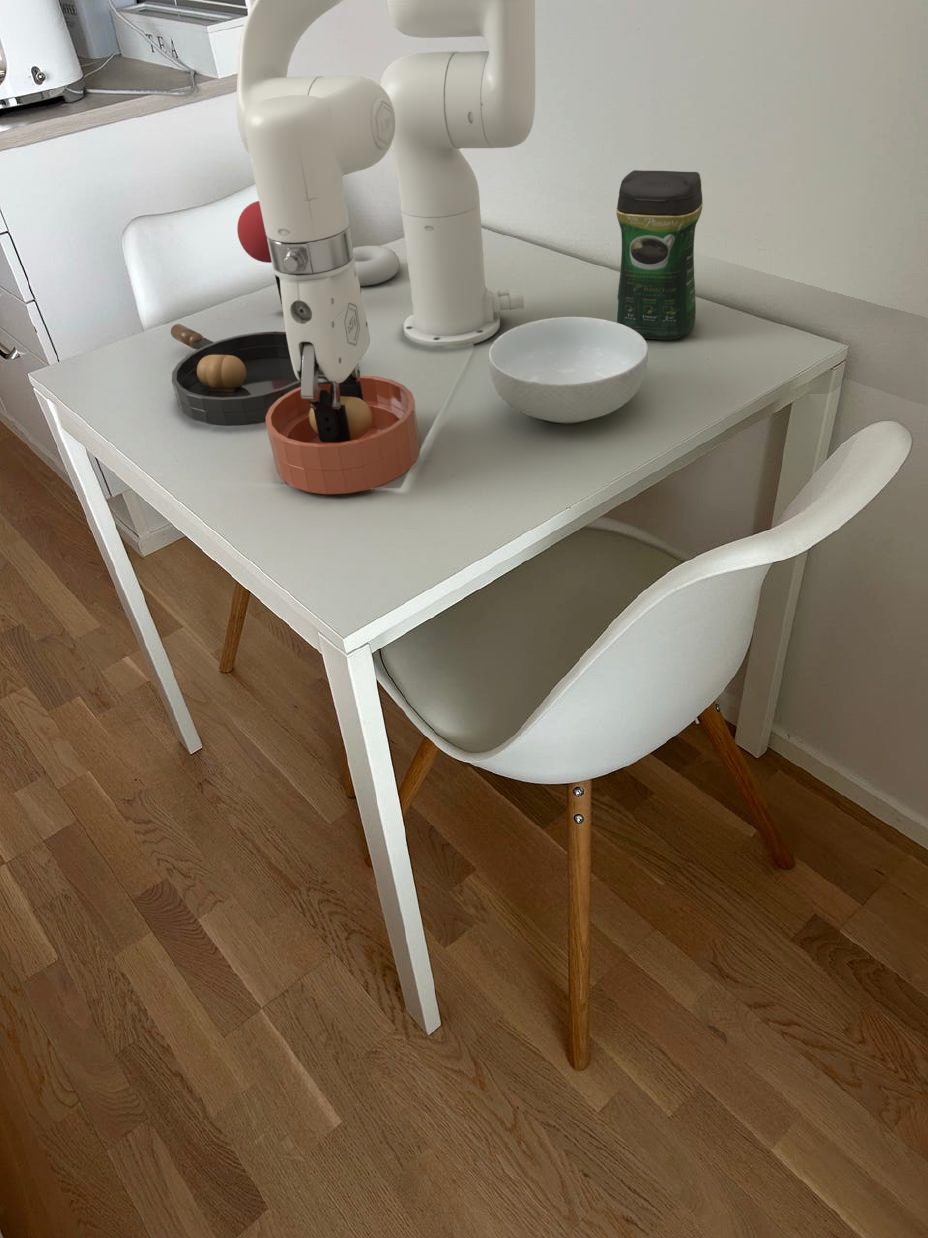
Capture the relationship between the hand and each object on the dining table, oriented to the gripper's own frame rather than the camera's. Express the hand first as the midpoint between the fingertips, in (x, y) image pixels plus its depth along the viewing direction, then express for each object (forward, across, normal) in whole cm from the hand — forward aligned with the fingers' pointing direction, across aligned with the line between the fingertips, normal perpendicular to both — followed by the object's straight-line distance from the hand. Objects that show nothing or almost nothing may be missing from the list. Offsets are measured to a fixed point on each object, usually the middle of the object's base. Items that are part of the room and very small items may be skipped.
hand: (343, 427), depth 100 cm
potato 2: (+1, 0, 0) cm, 1 cm away
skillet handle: (+2, +22, +28) cm, 36 cm away
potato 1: (+3, +14, +20) cm, 25 cm away
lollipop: (+4, +38, +22) cm, 44 cm away
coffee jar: (+4, +35, -29) cm, 45 cm away
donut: (+4, +52, +14) cm, 54 cm away
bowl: (+4, 0, 0) cm, 4 cm away
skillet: (+4, +14, +17) cm, 22 cm away
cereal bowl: (+4, +13, -21) cm, 26 cm away
